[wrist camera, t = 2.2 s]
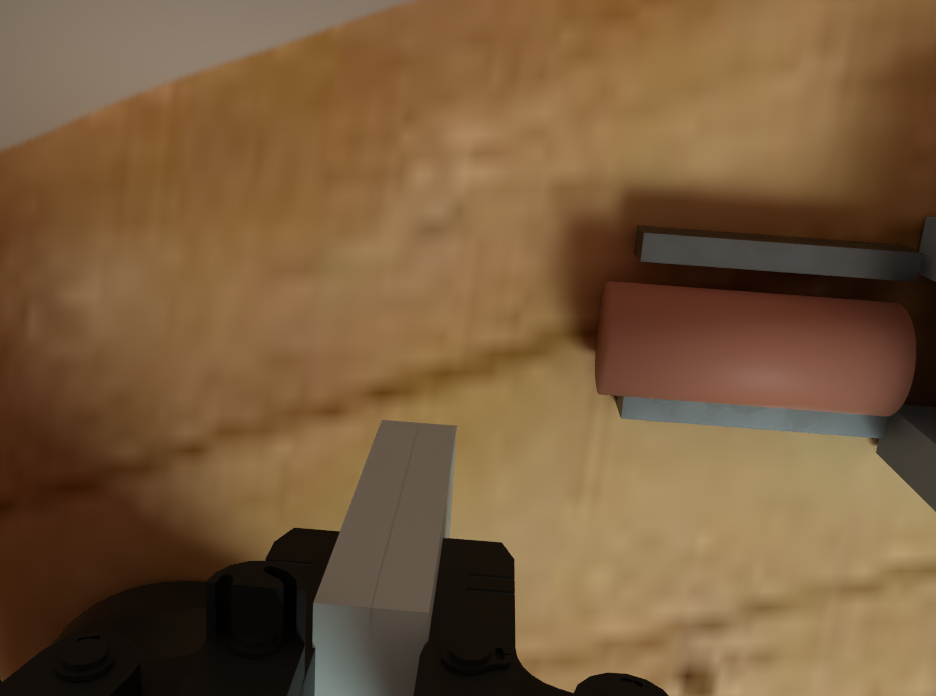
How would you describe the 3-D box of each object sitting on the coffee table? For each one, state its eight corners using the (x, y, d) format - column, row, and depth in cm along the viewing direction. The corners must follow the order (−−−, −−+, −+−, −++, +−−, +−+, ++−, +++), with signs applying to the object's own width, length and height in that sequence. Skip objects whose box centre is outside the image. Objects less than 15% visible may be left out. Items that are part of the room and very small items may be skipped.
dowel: (592, 360, 34) (600, 416, 31) (605, 263, 33) (616, 310, 29) (855, 380, 34) (893, 438, 31) (883, 284, 32) (928, 333, 29)
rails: (615, 403, 34) (621, 418, 33) (637, 225, 32) (644, 232, 31) (866, 422, 34) (883, 438, 33) (903, 245, 32) (922, 253, 31)
